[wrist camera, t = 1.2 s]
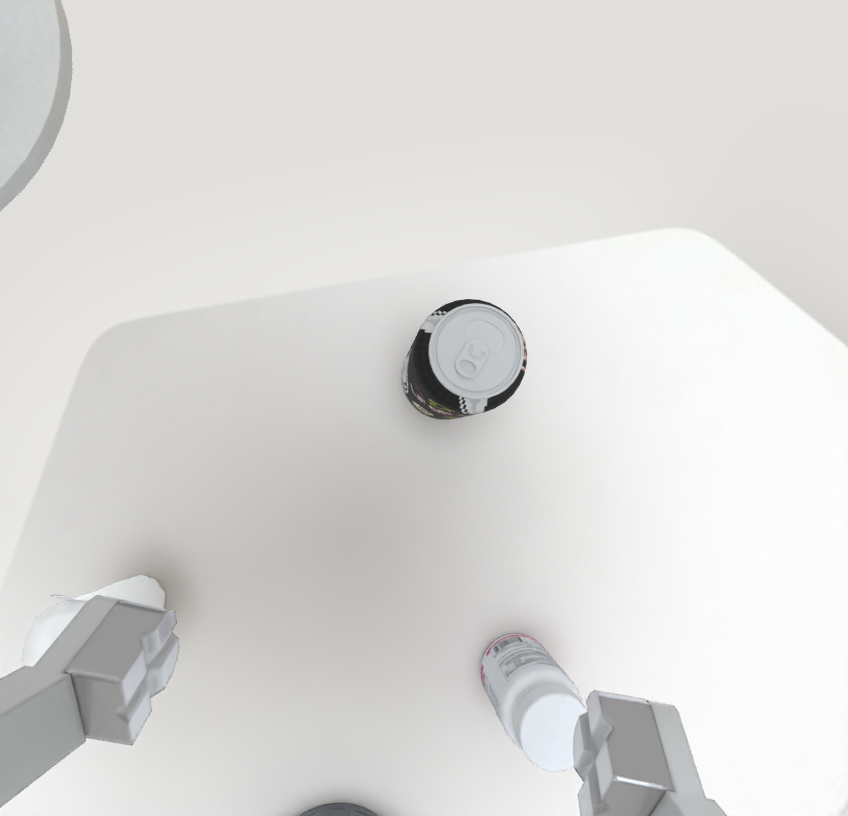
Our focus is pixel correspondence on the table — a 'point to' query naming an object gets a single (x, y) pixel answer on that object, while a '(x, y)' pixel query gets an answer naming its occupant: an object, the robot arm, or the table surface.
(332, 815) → the can holder
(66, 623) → the milkshake
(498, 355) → the beverage can
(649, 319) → the table surface
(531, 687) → the pill bottle
